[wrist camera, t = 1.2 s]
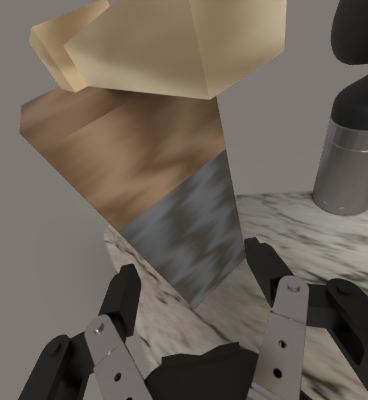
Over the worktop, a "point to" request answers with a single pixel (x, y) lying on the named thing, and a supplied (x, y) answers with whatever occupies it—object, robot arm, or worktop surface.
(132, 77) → the wooden key
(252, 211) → the worktop surface
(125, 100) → the grey tall block
